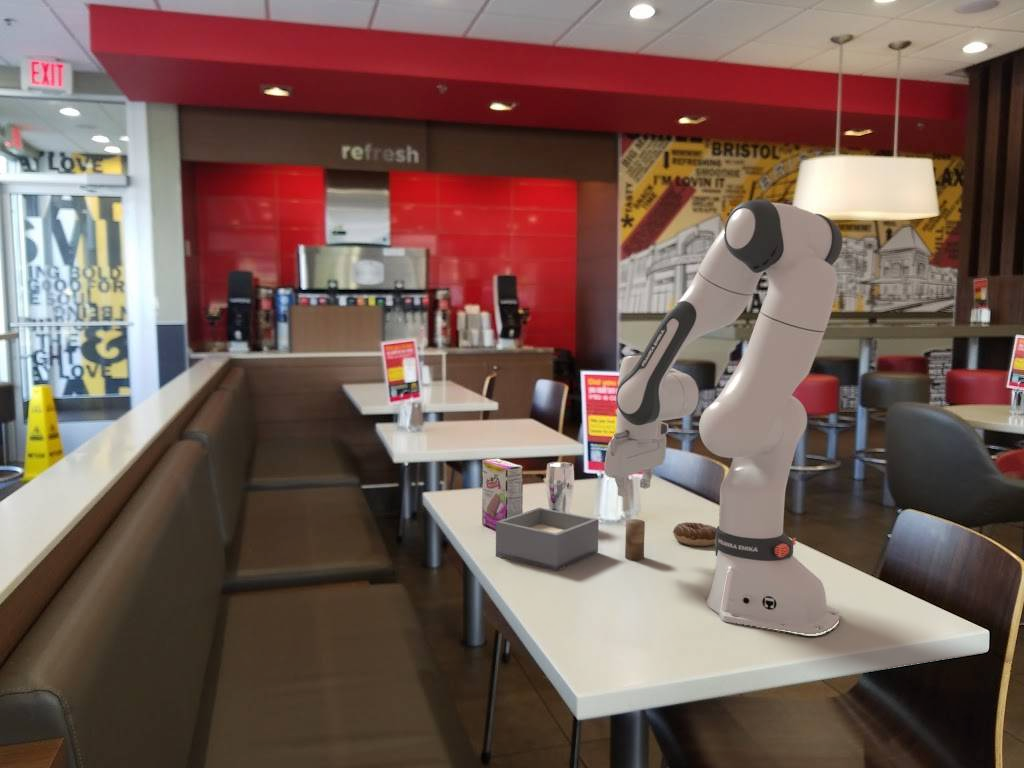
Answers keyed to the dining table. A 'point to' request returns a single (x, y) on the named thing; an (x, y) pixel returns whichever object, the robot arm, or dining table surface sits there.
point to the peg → (634, 539)
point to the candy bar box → (501, 491)
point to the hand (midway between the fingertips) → (634, 491)
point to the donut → (695, 534)
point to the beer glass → (560, 486)
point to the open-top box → (547, 538)
